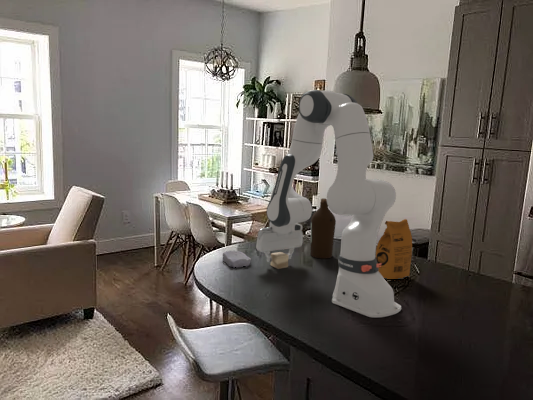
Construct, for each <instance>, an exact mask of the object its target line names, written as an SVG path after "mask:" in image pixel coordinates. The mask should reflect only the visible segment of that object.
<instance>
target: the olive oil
mask: <svg viewBox="0 0 533 400" xmlns="http://www.w3.org/2000/svg"><path fill="white" fill-rule="evenodd" d="M336 222H337V221H336V216H335V215H334V213H333V212H332V211H331V210H330V209H329V207H328V204H327V198H320V204H319V207H318V209H316V211H314V213H312V215H311V217H310V252H309V253H310V256H311V257H312V258H316V259H324V260H325V259H330V258H332V257H333V250H334V242H335V241H334V240H335V232H336Z"/></svg>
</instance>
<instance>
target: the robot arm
mask: <svg viewBox="0 0 533 400" xmlns="http://www.w3.org/2000/svg"><path fill="white" fill-rule="evenodd" d="M362 106H363V105H361V104H359V103H358V101H357V100H356V99H355V97H354V96H352V95H349V94H347V93H341V92H335V91H334V90H333V91H332V90H318V89H312V90H307V91H306V92H304V93H303V94H302V95H301V97H300V98H299V102H298V114H297V117H296V120H295V122H294V123H295V124H294V128H293V133H292V137H291V144H290V146H289V150H288V152H287V153H286V155H284V157H283V158H282V160H281V163H280V166H279V169H278V173H277V177H276V180H275V184H274V187H273V188H272V191H271V195H270V196H271V197H270V200H269V202H268V204H267V207H266V217H267V220H269V226H268V227H262V228H260V229H259V231H257V238H256V244H255V245H256V246H255V247H256V250H257V251H258V252H260V253H263V254H264V255H265V258H266V262H267V263H271V262H272V257H271V252H274V251H281V250H283V251H284V250H288V252H287V253H286V254H287V255H289V256H288V260H291V259H292V255H293V253H294V251H295V249H296V248H301V247H302V245H303V241H304V234H303V231H302V230H303V228H304V227H303V224H300V223H304V222H306V221H307V222H308V221H309V220H311V218H312V215H313V210H314V209H313V204H312V202H311V200H310V199H309V198H307V197H305V196H302V195H301V194H299V193H298V192H296V190H295V189H294V187H293V181H294V179H295V178H296V176H297V175H298V173H299V174H300V172H301V171H303V170H304V169H306V168H309V167H310V166H312V165H314V164H315V163H316V162H318V160H319V158H320V157H321V154H322V150H323V143H324V136H325V132H326V131H325V130H326V129H327V128H328V127H329V126H332V127H333V134H334V139H335V140H334V141H335V146H336V157H337V172H336V176H335V179H334V181H333V183H332V184H331V186H330V187H329V188H328V190H327V193H326V199H327V204H328V209H329V210H330V211H331V212H332V214H335V215H339V216H343V217H344V216H347V217H351V216H352V218H350V221H349V223H348V224H347V225H346V226H345V227H344V228H343V230H342V232H341V238H340V239H341V241H340V253H339V254H338V259H337V260H338V261H337V262H338V263H337V265H338V273H337V277H336V280H335V281H336V282H335V286H334V290H333V293H332V298H331V303H332V304H334V305H337V306H340V307H343V308H345V309H347V310H350V311H353V312H356V313H357V314H360V315H363V316H366V317H369V318H385V317H389V316H393V315H396V314H398V313H399V312H401V310H402V305H401V304H399V303H397V302H396V301H395V292H394V289H393V287H392V286H391V285H390V284H389V282H388V281H386V280H385V279H384V278H383V276H382V275H381V274H380V272H379V268H378V267H381V266H379V265H381V264H382V263H379V264H378V263H377V259H376V248H377V244H378V235H379V231H380V229H381V225H382V223H383V220H384V218H385V216H386V215H387V212H388V211H389V210H390V209H391V208H392V207H393V206H394V204H395V202H396V199H397V198H396V197H397V192H396V190H395V187H394V185H393V184H392V183H391V182H389V181H386V180H384V179H383V180H382V179H377V178H370V179H367V178H366V175H367V169H368V167H369V165H370V164H371V163H372V161H373V160H374V150H373V145H372V143H373V142H372V138H371V137H372V136H371V131H370V127H369V122H368V119H367V115H366V113H365V111H364V108H363V107H362Z"/></svg>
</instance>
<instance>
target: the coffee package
mask: <svg viewBox="0 0 533 400" xmlns="http://www.w3.org/2000/svg"><path fill="white" fill-rule="evenodd" d="M384 225H386V228H385V230H384V232H383V234H382V235H381V236H380V238H379V240H378V241H377V244H376V253H375V257H376V259H377V263H378V264H379V263H382V264H381V265H379V266H381V267H378V268H379V272H380V274H381V275H382V276H383V278H387V279H398V278H403V277H405V276H409V277H410V273H411V263H412V255H413V251H412V250H413V236H412V232H411V229H410V225H409V222H408V219H407V218H404V219H402V220H401V221H393V220H385V222H384Z"/></svg>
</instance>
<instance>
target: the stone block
mask: <svg viewBox="0 0 533 400" xmlns="http://www.w3.org/2000/svg"><path fill="white" fill-rule="evenodd" d="M222 261H223V262H224V263H225V262H226V263H227V264H226V263H225V264H226V265H228V267H229V268H232V267H233V268H232V269H235V267H236V268H242V267H243V266H246V267H249V266H250V264H251V262H252V258H250V256H247V254H245V252H242V251H239V250H227V251H226V250H225V252H223V253H222Z"/></svg>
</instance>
